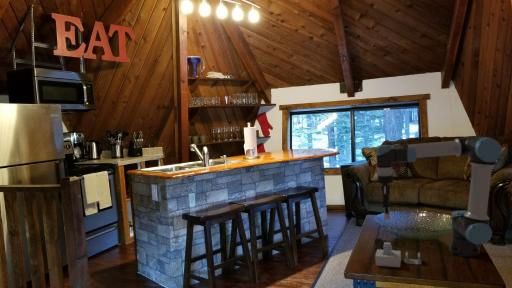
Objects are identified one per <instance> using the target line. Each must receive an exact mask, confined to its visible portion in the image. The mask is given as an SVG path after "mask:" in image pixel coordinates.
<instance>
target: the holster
mask: <svg viewBox="0 0 512 288" xmlns="http://www.w3.org/2000/svg"><path fill="white" fill-rule="evenodd" d="M404 264H412V265H422V260H421V252H417V259H413V258H409V252H408V251H405V257H404Z"/></svg>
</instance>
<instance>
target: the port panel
mask: <svg viewBox="0 0 512 288" xmlns="http://www.w3.org/2000/svg"><path fill="white" fill-rule="evenodd" d="M374 258H375V266H379V267H393V268H401V264H402V253H401V250H394V249H392V255H384V251H383V250H379V249H377V250H376V251H375V257H374Z"/></svg>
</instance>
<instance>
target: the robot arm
mask: <svg viewBox="0 0 512 288" xmlns="http://www.w3.org/2000/svg"><path fill="white" fill-rule="evenodd" d="M375 151H376V152H375V153H376V154H375V155H376V157H375V158H376V169H375V171H377V182H378V183H379V184H382V185H381V186H380V187H381V193H382V200H383V201H382V203H383V206H382V208H383V215H384V220H391V211H390V207H391V204H390V193H391V191H390V188H391V185H389V184H392V183H393V181H394V177H393V176H394V175H393V171H394V170H393V164H398V163H414V162H416V160H417V158H430V157H442V156H443V157H444V156H456V157H468V158H469V164H470V165H471V167H472V168H471V176H470V187H469V195H468V203H467V204H468V205H467V210H454V211H452V212H451V216H450V218H451V236H452V237H451V241H450V243H449V247H448V250H449V252H451V253H452V254H453V255H454V256H459V257H465V258H473V257H478V256H479V255H481V249H480V246H479V245H484V244H486V243H487V242H489V241H490V240H491V238H492V236H493V231H492V230H493V229H492V228H491V227H490V217H489V216H488V214H487V212H488V203H489V197H490V196H489V194H490V186H491V179H492V170H493V168H494V167H496V164H497V160H499V159H500V158H501V155H502V151H503V150H502V146H501V144H500V142H499V141H497V140H495V139H494V138H492V137H487V136H479V135H475V136H467V137H461V138H455V139H454V140H449V141H448V140H447V141H438V142H437V141H436V142H423V143H413V144H411V143H409V144H402V145H400V144H394V145H392V146H391V145H390V144H380V145H377V146H376V149H375Z"/></svg>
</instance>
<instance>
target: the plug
mask: <svg viewBox="0 0 512 288" xmlns="http://www.w3.org/2000/svg"><path fill="white" fill-rule="evenodd" d="M392 250H393V246H392V243H391V242H388V241H387V242H384V246H383V251H384V255H392Z"/></svg>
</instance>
